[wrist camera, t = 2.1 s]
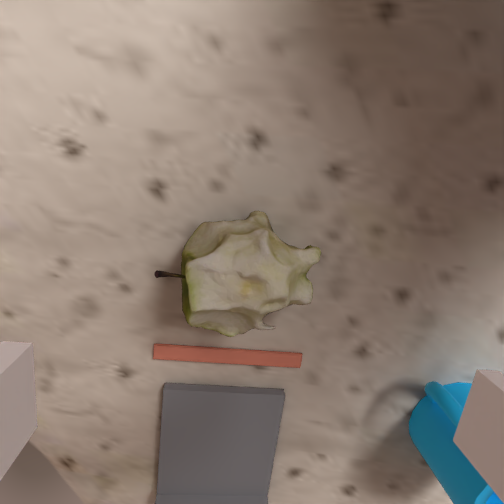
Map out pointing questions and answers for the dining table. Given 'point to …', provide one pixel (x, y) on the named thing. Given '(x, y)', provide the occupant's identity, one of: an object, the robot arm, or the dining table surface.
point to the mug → (448, 443)
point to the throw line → (227, 355)
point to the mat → (217, 443)
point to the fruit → (241, 275)
